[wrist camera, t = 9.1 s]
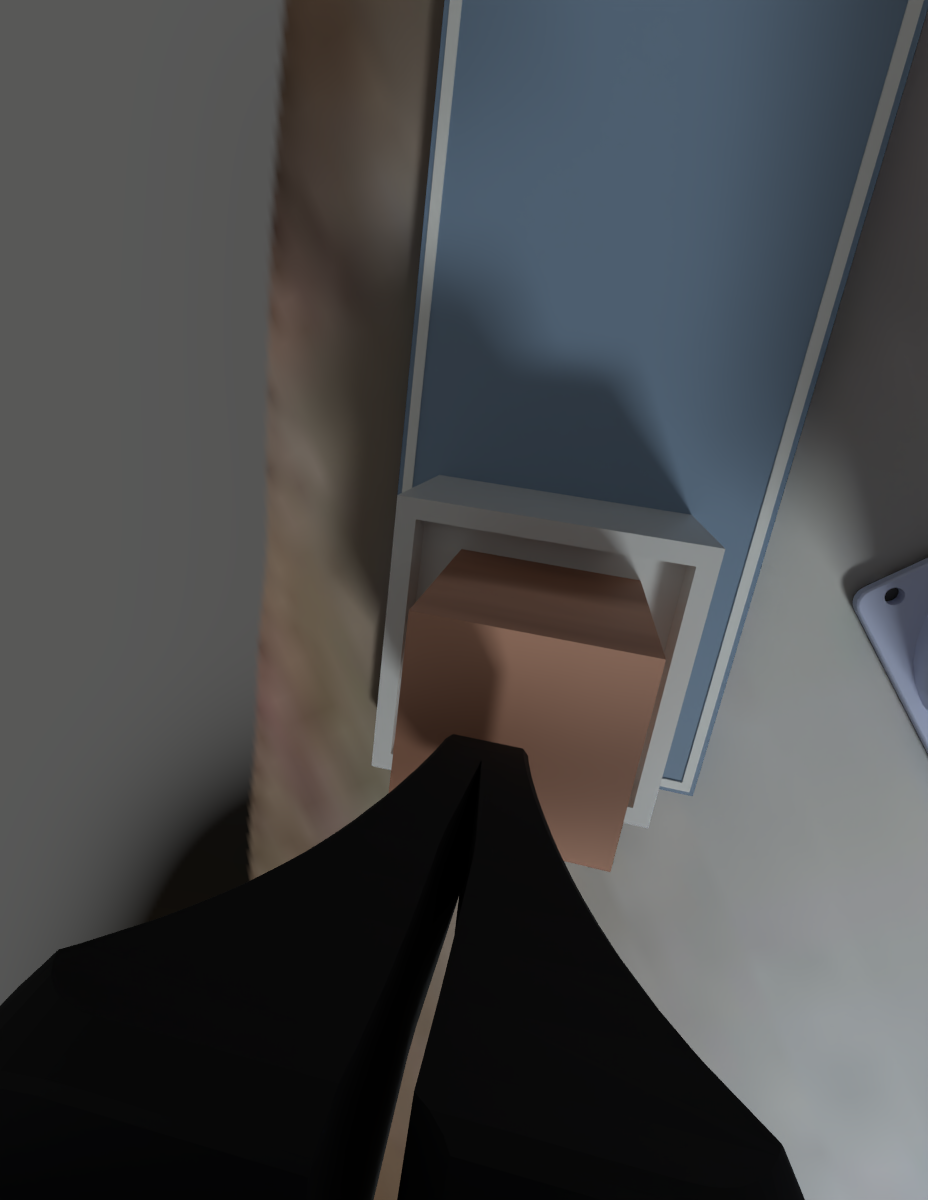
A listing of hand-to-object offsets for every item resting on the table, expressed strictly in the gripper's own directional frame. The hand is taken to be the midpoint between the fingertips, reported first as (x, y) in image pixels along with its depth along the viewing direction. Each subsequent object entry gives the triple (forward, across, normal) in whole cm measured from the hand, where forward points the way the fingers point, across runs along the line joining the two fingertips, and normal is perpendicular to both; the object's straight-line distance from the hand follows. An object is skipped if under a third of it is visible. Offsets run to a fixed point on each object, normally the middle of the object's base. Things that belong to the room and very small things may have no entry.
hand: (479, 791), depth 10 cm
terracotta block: (+6, 0, 0) cm, 6 cm away
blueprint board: (+10, -1, -6) cm, 12 cm away
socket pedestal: (+10, -1, 0) cm, 10 cm away
